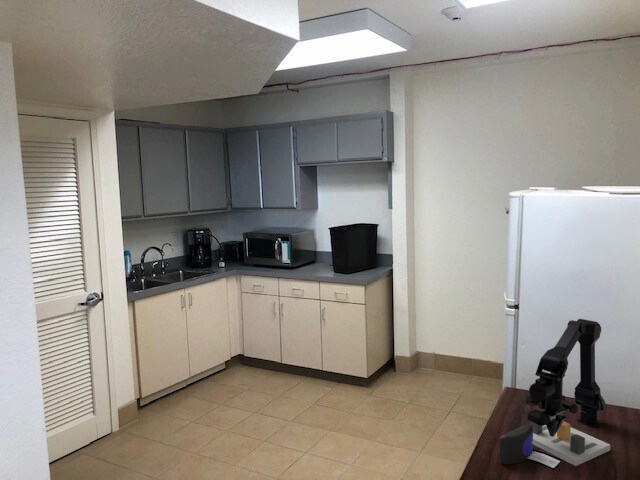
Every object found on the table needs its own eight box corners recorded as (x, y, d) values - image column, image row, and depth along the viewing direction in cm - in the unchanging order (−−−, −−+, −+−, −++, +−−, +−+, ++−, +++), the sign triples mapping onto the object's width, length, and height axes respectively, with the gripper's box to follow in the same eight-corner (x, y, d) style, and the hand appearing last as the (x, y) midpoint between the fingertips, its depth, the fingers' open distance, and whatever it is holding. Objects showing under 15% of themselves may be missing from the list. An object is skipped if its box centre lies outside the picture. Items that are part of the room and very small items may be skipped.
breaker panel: (552, 424, 194) (552, 406, 193) (610, 450, 174) (610, 430, 174) (519, 437, 185) (519, 418, 184) (575, 466, 166) (576, 445, 165)
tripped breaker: (562, 434, 181) (562, 420, 181) (570, 437, 179) (570, 424, 178) (556, 436, 180) (557, 422, 179) (564, 440, 177) (564, 426, 177)
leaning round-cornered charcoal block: (509, 469, 165) (510, 441, 164) (497, 463, 169) (497, 435, 168) (540, 453, 174) (541, 426, 173) (528, 447, 178) (528, 421, 177)
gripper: (550, 378, 186) (549, 419, 188) (514, 390, 177) (513, 433, 179) (579, 388, 176) (577, 432, 178) (542, 401, 167) (541, 447, 169)
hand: (552, 436), depth 176 cm, fingers closed
